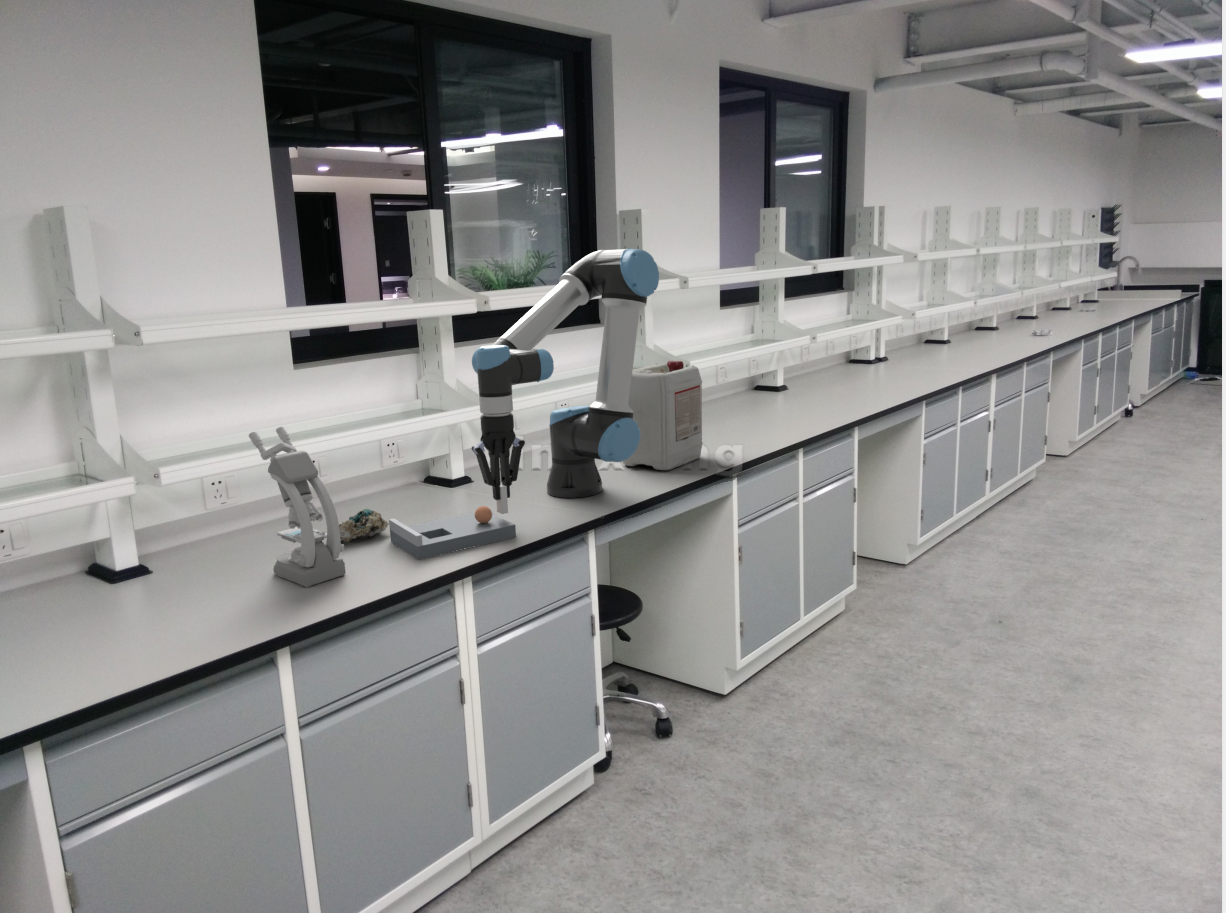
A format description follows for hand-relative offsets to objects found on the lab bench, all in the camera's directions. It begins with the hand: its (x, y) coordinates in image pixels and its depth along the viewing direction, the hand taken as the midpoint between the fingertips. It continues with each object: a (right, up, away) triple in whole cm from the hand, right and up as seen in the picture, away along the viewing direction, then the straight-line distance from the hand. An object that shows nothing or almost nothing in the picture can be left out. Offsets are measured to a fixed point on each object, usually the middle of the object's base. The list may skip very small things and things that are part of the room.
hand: (502, 512), depth 211 cm
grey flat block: (-11, -6, -4) cm, 13 cm away
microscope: (-39, -12, -23) cm, 46 cm away
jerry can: (+41, +11, +63) cm, 76 cm away
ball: (-4, 0, -3) cm, 5 cm away
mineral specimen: (-33, -6, 0) cm, 34 cm away
